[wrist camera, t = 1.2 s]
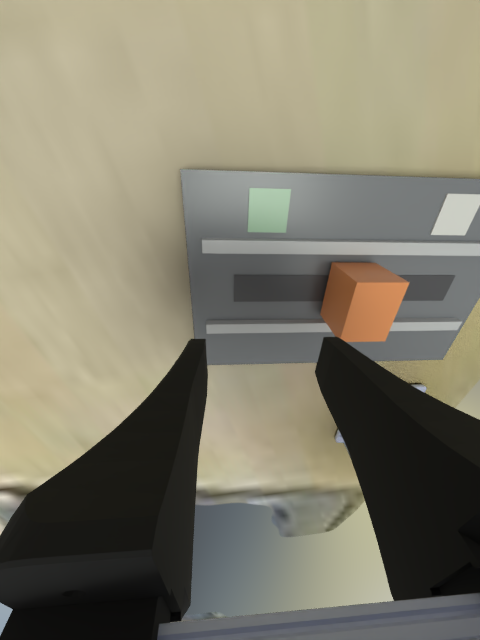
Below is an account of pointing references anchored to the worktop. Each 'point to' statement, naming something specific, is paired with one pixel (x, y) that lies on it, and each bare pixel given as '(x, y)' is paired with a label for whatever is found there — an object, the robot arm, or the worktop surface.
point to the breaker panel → (325, 259)
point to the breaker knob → (362, 301)
